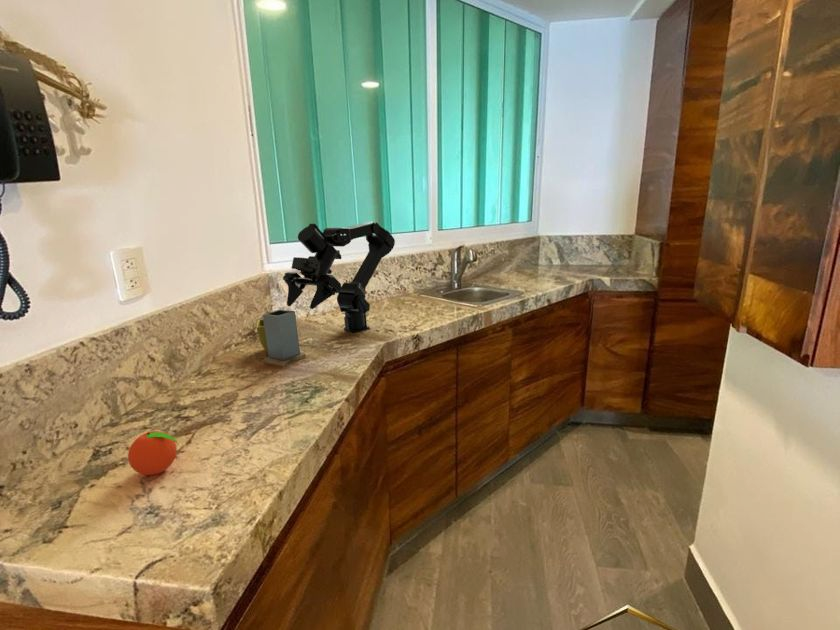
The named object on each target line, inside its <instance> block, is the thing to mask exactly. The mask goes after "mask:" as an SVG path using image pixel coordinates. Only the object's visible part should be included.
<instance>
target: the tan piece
mask: <svg viewBox="0 0 840 630" xmlns="http://www.w3.org/2000/svg"><path fill="white" fill-rule="evenodd" d="M306 357H307V355H306V353H304V352H300V355H298V356H295V357H293V358H291V359H288V360H286V361H280V360H275V359H271V358H269V356H268V357H265V358H263V363H265V364H270V365H275V366H279V367H283V368H284V367H286V366H289V365H291V364H293V363H295V362H298V361H300V360H302V359H305V358H306Z"/></svg>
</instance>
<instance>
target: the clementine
mask: <svg viewBox="0 0 840 630" xmlns="http://www.w3.org/2000/svg"><path fill="white" fill-rule="evenodd" d="M177 445H178V446H180V444H179V443H178V441H177V440H176V439H175V438H174V437H173V436H171V435H169V434H168V433H166V432H163V431H158V430H152V431H147V432H145V433H142V434H141V435H139V436H138V437H137V438H136V439H135V440H134V441H133V442H132V444H131V445H130V447H129V449H128V453H127V460H128V464H129V466H130V467H131V469H133V471H135V472H137V473H138V474H139V475H140V474H141V475H144V476H145V475H146V476H153V475H158V474H160V473H163V472H164V471H166V470H167V469H169V467H170V466H171V465H172V464H173V462H174V461H175V459H176V456H177V453H178V452H177V451H178V450H177V449H178V446H177Z"/></svg>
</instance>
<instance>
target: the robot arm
mask: <svg viewBox="0 0 840 630" xmlns="http://www.w3.org/2000/svg"><path fill="white" fill-rule="evenodd" d="M362 237H365V240H366V241H367V243H368V252H367V254H366V256H365V258H364V259H363V261H362V263H361V265H360V267H359V269H358V270H357V272H356V273H355V275H354V277H353V279H352V280H351V282H343V283H341V282H340V281H339V280H338V278H336V277H335V276H334V275H333V274H332V272H333V270H332V269H331V268H332V266H333V264H334V261H335V260H342V254H341V251H340V250H339V249H336V247H337V248H338V247H340V248H341V247H342V248H343V247H345V246H347V245H349V244H350V243H351V242H352V240H355V239H358V238H359V239H360V238H362ZM297 239H298V241H299V242H300V243H301V244H302V245H303V246H304V247H305V248H306V250H308V251H309V252H310V253H311V254H315V255H314V256H313V255H311V256H310V255H309V256H308V258H307V257H299V256H298V257H293V259H292V263H291V269H292V270H297V271H300V272H299V273H300V274H298V273H297V272H291V271H290V272H285V273H284V275H283V277H282V280H283V281H284V282H285V284H286V285H287V287H288V288H287V289H288V291H287V297H286V298H287V299H286V300H287V301H286V306H287V307H291V306H292V305H293V304H294V303H295V302H296V301H297V299H298V298H299V297H300V295H302V293H304V289H305V288H306V286H313V287H315V286H316V290H315V293H314V295H313V297H312V299H311V302H310V305H309V308H310V309H311V310H313V309H315V308H316V307H319V305H321V304H322V303H323V302H324V301H326V300H327V299H329V298H331V297H332V296H335V295H336V294H337V296H336V302H337V305H338V307H339V310H340V312H341V313H343V312H344V317H343V320H344V327H343V330H346V331H348V332H351V333H357V332H360V331H365V330H368V329H369V330H370V329H371V328H370V326H369V325H368V322H367V313H368V312H369V311H370V308H371V305H370V303H369V302H368V301H367V299H366V288H367V286H368V284H369V282H370V280H371V278H372V276H373V275H374V273H375V271H376V269H377V268H378V265H379V264H380V261H381V260H382V259H383V258H384V257H386V256H388V255H389V254H390V253H391V252H392V250H393V249H394V247H395V244H396V241H395V238H394V236H393V235H392V234H391V233H390V232H389V231H388V230H387V229H385V228H383V227H382V226H381V225H380V224H379V222H376V221H365V222H363V223H358V224H356V225H355V224H354V225H351V226H347V227H326V228H324V229H323V231H322V230H321V229H320V228H319V227H318V225H317V224H316V223H309V224H308V226H305V227H304V228H303V229H302V230H301V231H299V233H298V235H297ZM300 275H302V276H303V277H302V276H300Z"/></svg>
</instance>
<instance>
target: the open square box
mask: <svg viewBox="0 0 840 630" xmlns="http://www.w3.org/2000/svg"><path fill="white" fill-rule="evenodd" d="M296 317H297V316H296V311H294V310H287V309H277V310H274V311H270V312H267V313H263V314H262V319H263V321H264V328H265V335H266V341H267V348H268V353H267V355H268V357H269V358H271V359H275V360H280V361H286V360H288V359H291V358H293V357H295V356H298V355H300V353H301V348H300V343H299V342H300V340H299V332H298V324H297V318H296Z"/></svg>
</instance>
